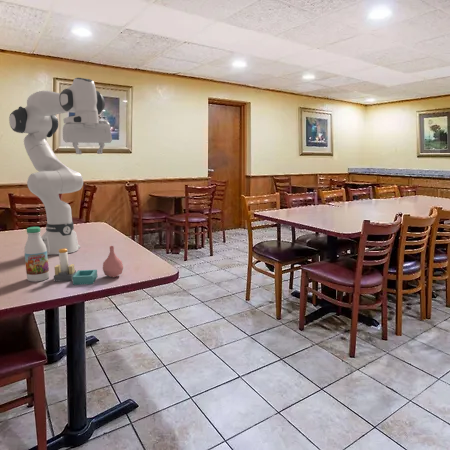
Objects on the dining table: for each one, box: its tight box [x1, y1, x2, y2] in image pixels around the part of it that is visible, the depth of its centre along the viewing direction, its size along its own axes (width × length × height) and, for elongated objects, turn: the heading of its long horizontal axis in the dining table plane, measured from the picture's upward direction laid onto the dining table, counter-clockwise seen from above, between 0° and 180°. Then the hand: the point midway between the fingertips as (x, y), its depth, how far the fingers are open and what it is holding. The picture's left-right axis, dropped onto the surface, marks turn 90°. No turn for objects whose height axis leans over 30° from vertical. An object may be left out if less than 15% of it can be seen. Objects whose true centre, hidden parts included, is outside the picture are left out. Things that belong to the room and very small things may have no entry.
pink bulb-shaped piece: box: [102, 245, 124, 278], centre depth 150 cm, size 8×8×12 cm
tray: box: [72, 269, 98, 286], centre depth 146 cm, size 7×8×3 cm
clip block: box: [53, 263, 77, 282], centre depth 149 cm, size 6×6×5 cm
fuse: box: [58, 248, 70, 274], centre depth 148 cm, size 3×3×9 cm
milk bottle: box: [23, 226, 50, 282], centre depth 147 cm, size 8×8×20 cm
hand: (89, 154), depth 161 cm, fingers open, 8 cm apart
